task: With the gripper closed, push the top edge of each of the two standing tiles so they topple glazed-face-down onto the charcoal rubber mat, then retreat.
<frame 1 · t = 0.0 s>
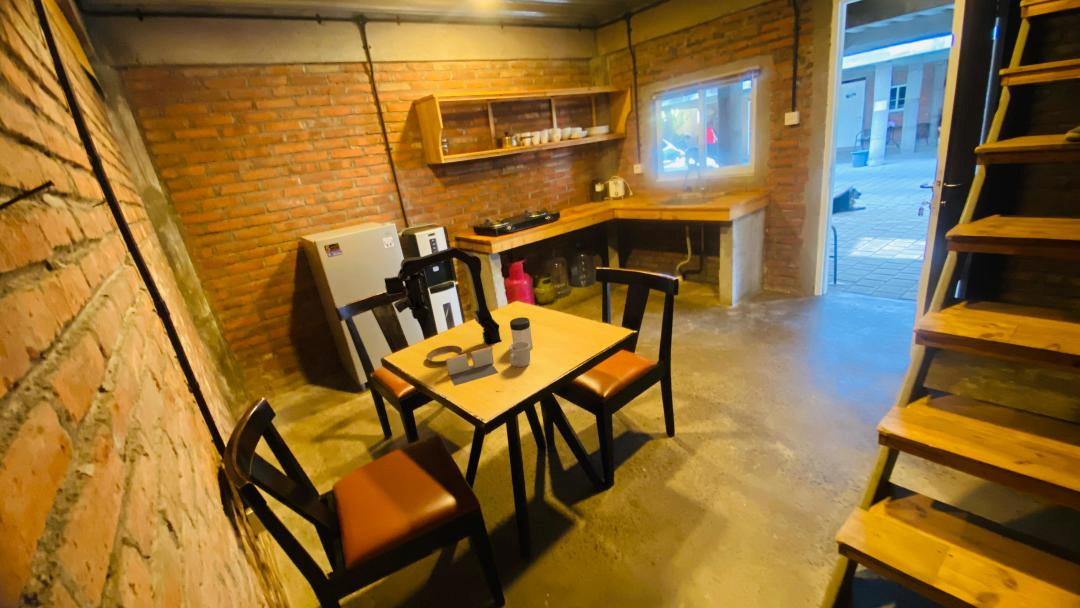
hand: (421, 326, 185), 15 cm above the table, fingers open, 9 cm apart
jar: (523, 347, 190), on the table
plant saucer: (445, 359, 189), on the table
tile b: (459, 372, 175), resting on mat
cup: (520, 366, 175), on the table
tile a: (483, 365, 178), resting on mat
mat: (472, 373, 173), on the table
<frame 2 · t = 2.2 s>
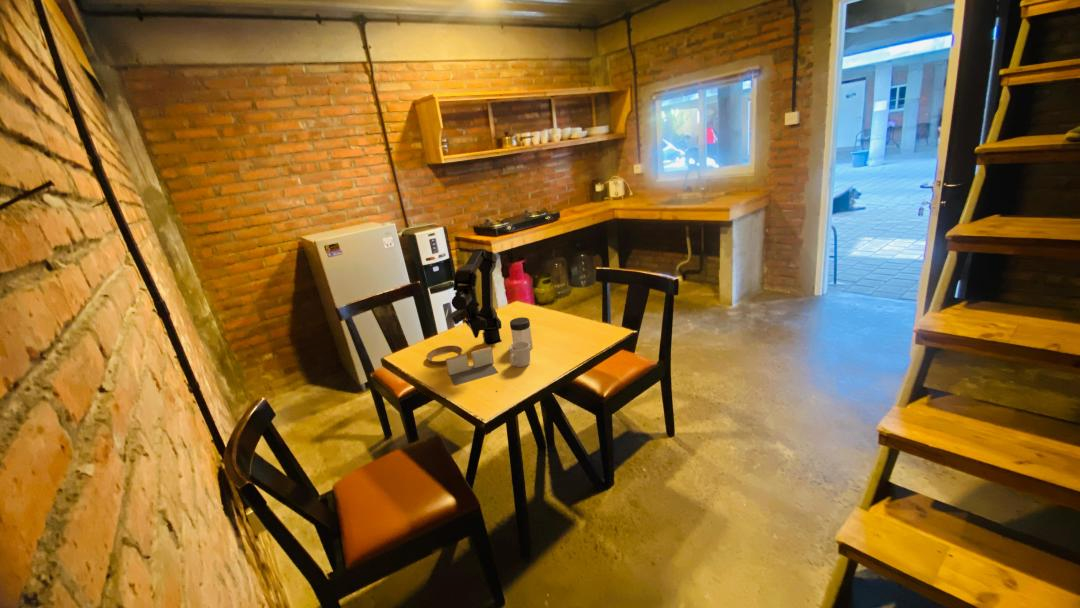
hand: (476, 337, 180), 10 cm above the table, fingers closed
nothing on the table moved.
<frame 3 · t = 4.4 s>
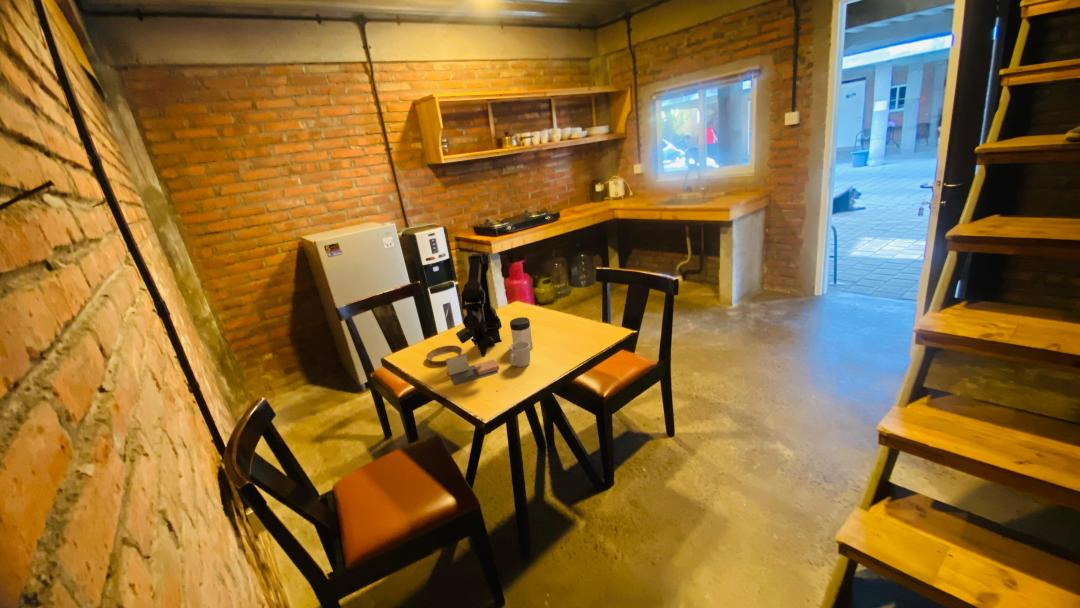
hand: (483, 356, 175), 5 cm above the table, fingers closed
tile a: (484, 363, 177), point 1 cm above the table, tilted 90°, touching mat
everything else where it was.
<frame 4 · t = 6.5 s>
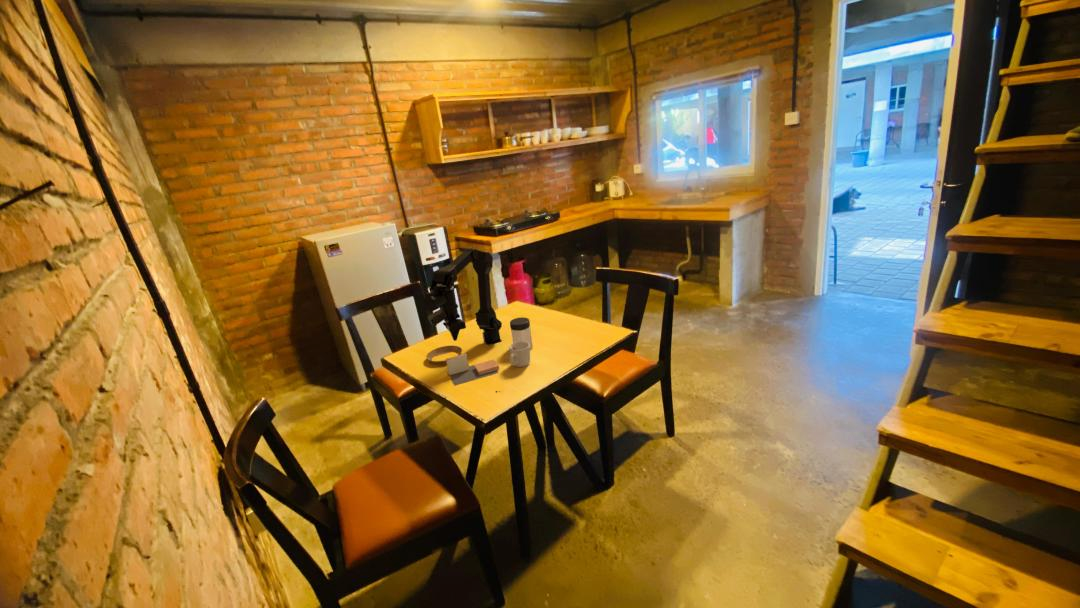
hand: (455, 340, 176), 11 cm above the table, fingers closed
nothing on the table moved.
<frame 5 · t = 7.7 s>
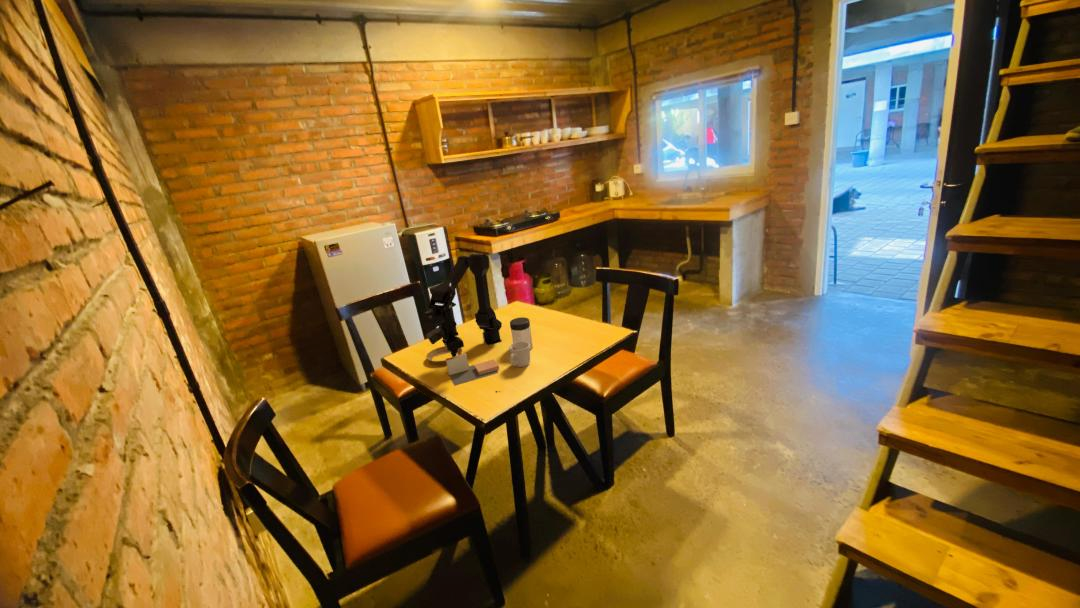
hand: (454, 357, 178), 5 cm above the table, fingers closed
nothing on the table moved.
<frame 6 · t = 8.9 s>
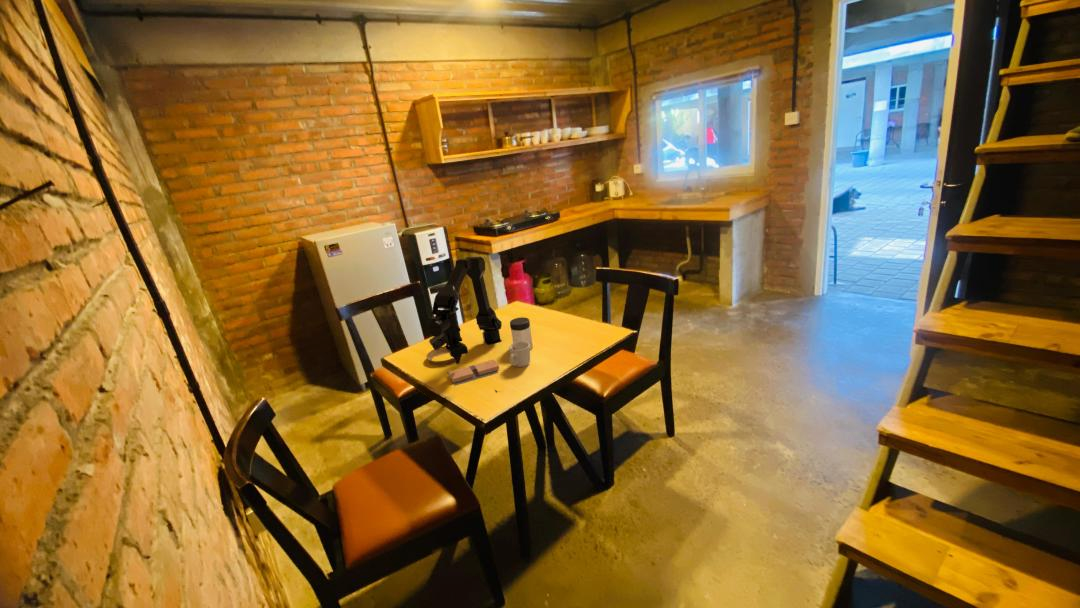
hand: (457, 363, 172), 5 cm above the table, fingers closed
tile b: (459, 371, 174), point 1 cm above the table, tilted 90°, touching mat
everything else where it was.
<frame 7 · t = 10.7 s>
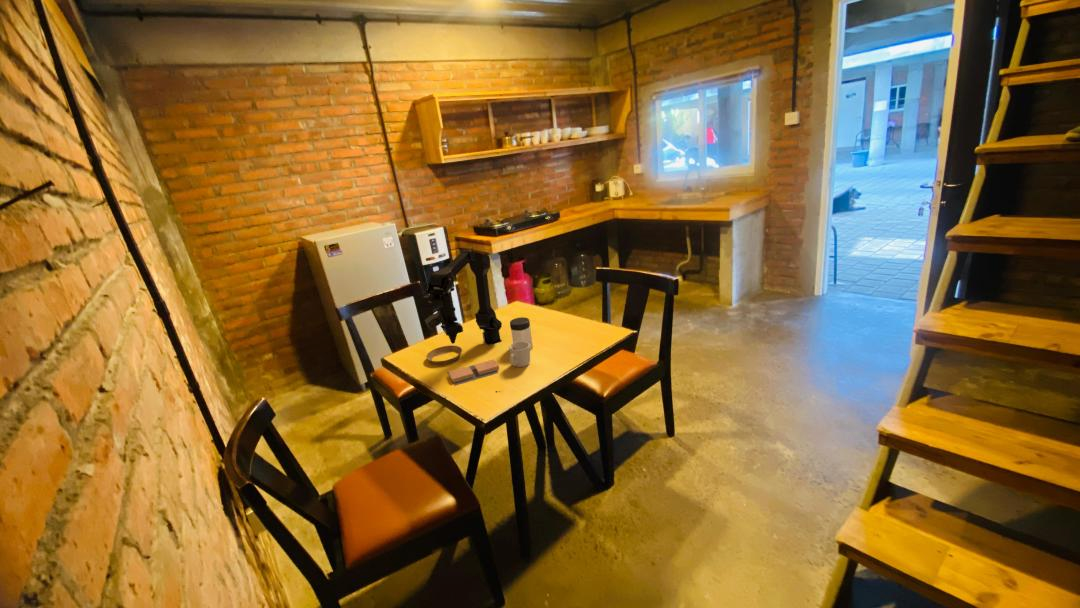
hand: (453, 343, 175), 11 cm above the table, fingers closed
nothing on the table moved.
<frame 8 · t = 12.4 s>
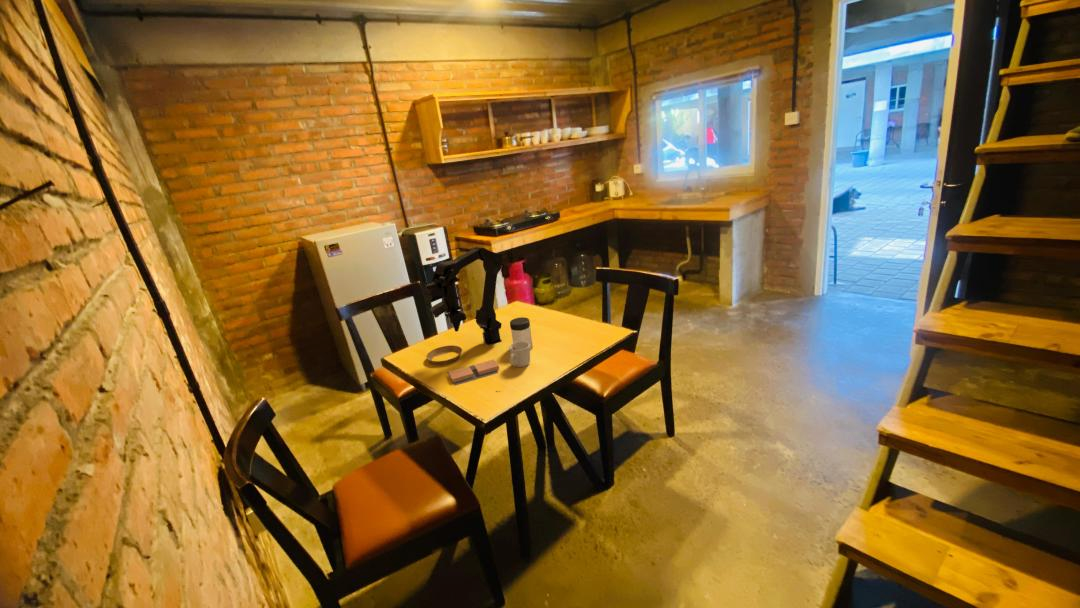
hand: (456, 331, 183), 12 cm above the table, fingers closed
nothing on the table moved.
at the end: tile a tilted 90°; tile b tilted 90°; tile a inside the target area (5.7 cm from its centre), point 1.1 cm above the table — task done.
